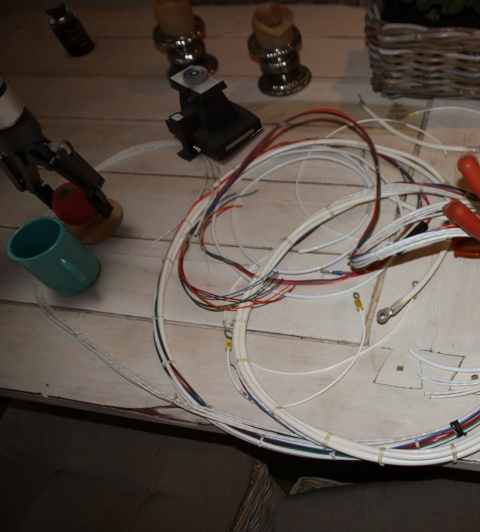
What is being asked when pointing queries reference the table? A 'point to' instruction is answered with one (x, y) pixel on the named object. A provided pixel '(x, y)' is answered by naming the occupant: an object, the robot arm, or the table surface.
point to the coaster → (98, 226)
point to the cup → (53, 256)
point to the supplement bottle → (67, 28)
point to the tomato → (72, 205)
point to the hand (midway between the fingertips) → (86, 213)
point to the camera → (208, 115)
